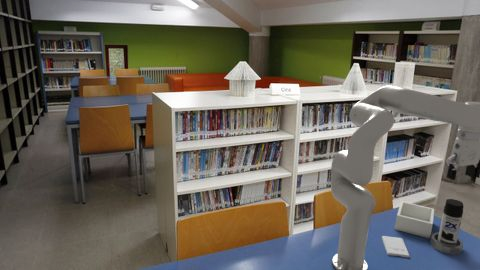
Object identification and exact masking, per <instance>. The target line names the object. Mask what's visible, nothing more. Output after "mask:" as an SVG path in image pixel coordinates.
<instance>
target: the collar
mask: <svg viewBox="0 0 480 270" xmlns="http://www.w3.org/2000/svg"><path fill="white" fill-rule="evenodd" d="M438 236H439V232H435V233H431V236H430V246H432V248H433V249H435V250H436V251H438V252H440V253H443V254H447V255H451V256H452V255H453V256H454V255H456V256H458V255H460V254H462V253H463V248H464V242H463V241H462V240H461V239H460V238H459V237H458V238H457V243H456V247H450V246H447V245H443V244H441V243H439V242H438Z"/></svg>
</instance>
